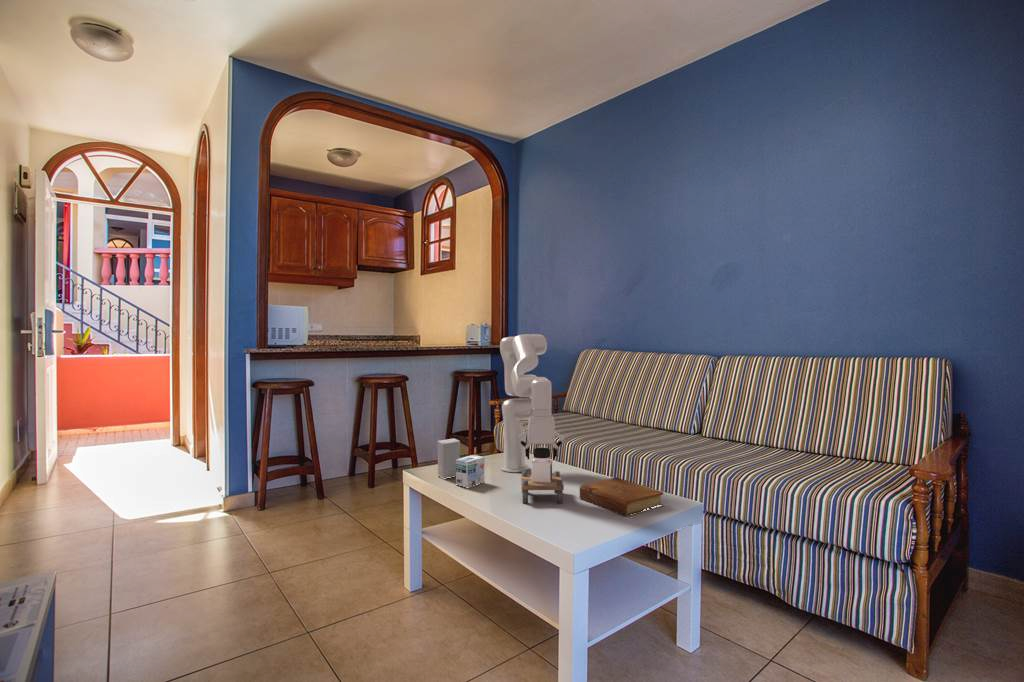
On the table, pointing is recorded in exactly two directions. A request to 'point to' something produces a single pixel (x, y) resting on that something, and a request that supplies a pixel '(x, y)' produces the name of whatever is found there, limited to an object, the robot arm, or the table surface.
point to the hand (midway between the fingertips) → (541, 458)
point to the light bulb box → (469, 470)
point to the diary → (620, 495)
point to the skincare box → (448, 457)
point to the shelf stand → (542, 486)
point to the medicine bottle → (541, 465)
